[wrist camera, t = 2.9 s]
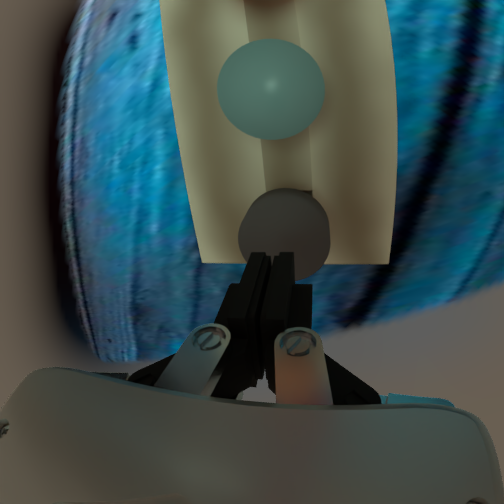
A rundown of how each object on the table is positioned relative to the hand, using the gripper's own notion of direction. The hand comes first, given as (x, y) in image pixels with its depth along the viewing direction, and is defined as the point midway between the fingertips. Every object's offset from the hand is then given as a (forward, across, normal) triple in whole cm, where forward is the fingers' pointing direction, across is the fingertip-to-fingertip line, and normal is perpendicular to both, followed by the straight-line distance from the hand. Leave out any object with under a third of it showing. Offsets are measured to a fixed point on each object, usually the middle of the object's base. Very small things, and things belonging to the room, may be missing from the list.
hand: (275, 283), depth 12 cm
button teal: (+9, 0, -8) cm, 12 cm away
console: (+13, 0, -8) cm, 15 cm away
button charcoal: (+9, 0, 0) cm, 10 cm away
